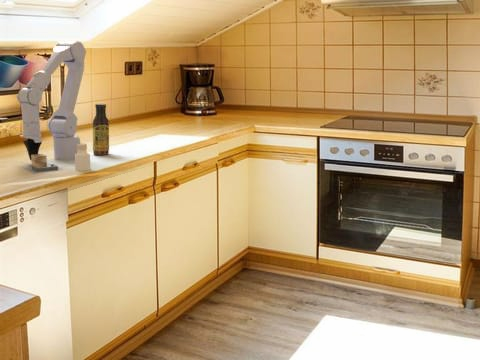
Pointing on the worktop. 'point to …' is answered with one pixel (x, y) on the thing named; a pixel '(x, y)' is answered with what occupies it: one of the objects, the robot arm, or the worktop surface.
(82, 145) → the pepper shaker
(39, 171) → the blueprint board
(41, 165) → the maple block
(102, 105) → the sauce bottle
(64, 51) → the robot arm
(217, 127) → the worktop surface
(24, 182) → the worktop surface
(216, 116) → the worktop surface
